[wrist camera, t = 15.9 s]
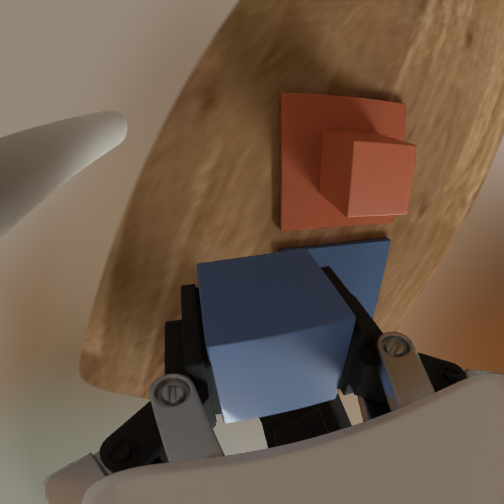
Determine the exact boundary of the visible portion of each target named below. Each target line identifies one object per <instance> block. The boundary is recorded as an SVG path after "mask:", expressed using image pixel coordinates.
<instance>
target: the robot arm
mask: <svg viewBox="0 0 504 504" xmlns="http://www.w3.org/2000/svg"><path fill="white" fill-rule="evenodd" d="M320 268H321V269H322V270H323V272H324V273H325V274H326V276H327V277H328V278H329V280H330V281H331V283H332V284H333V285H334V287H335V288H336V290H337V291H338V292H339V294H340V295H341V297H342V298H343V299H344V301H345V302H346V304H347V305H348V306H349V308H350V309H351V311H352V312H353V313H354V315H355V316H356V320H355V325H354V329H353V333H352V338H351V342H350V346H349V350H348V354H347V358H346V362H345V366H344V369H343V373H342V376H341V380H340V383H339V386H338V389H341V391H342V393H343V395H347V394H350V393H354V395H357V396H358V401H359V405H360V409H361V414H362V417H363V423H360V424H357V425H354V426H351V427H348V428H344V429H341V430H338V431H335V432H332V433H328V434H325V435H321V436H318V437H314V438H310V439H307V440H303V441H299V442H295V443H290V444H286V445H282V446H277V447H273V448H268V449H263V450H258V451H252V452H247V453H241V454H235V455H228V456H225V455H224V453H223V451H222V448H221V446H220V444H219V442H218V440H217V438H216V435H215V433H214V431H213V428H214V427H215V426H216V416H215V415H216V414H221V411H220V406H219V401H218V396H217V391H216V386H215V381H214V376H213V370H212V365H211V362H210V361H209V359H208V354H207V349H206V343H205V336H204V328H203V320H202V311H201V303H200V294H199V287H198V288H196V286H195V284H191V285H183V286H181V305H182V320H176V321H167V322H166V323H165V375H163V376H161V377H159V378H158V379H156V380H155V381H154V383H153V384H152V385H151V388H150V391H149V392H150V400H151V401H149V402H148V403H147V404H146V405H145V406H144V407H143V408H142V409H140V410H139V411H138V412H137V413H136V414H135V415H133V416H132V417H131V418H130V419H129V420H128V421H127V422H125V423H124V424H123V425H122V426H121V427H120V428H118V429H117V430H116V431H115V432H114V433H112V434H111V435H110V436H109V437H108V438H107V439H106V440H105V441H104V442H103V444H102V446H101V448H100V451H99V452H97V453H95V454H92V453H89V454H88V455H86V456H84V457H82V458H80V459H79V460H77V461H75V462H73V463H71V464H70V465H68V466H66V467H64V468H62V469H60V470H58V471H56V472H54V473H52V474H51V475H49V476H48V477H47V478H46V480H45V482H44V485H43V491H44V494H45V496H46V499H47V500H48V503H49V504H504V374H501V373H495V372H485V371H477V370H469V369H466V370H465V371H463V370H462V369H461V368H460V367H459V366H458V365H456V364H454V363H451V362H448V361H444V360H441V359H438V358H435V357H431V356H428V355H425V354H421V353H418V352H417V351H416V349H415V347H414V345H413V343H412V341H411V340H410V339H409V338H408V337H407V336H405V335H403V334H401V333H397V332H387V333H384V334H383V333H382V331H381V330H380V329H379V327H378V326H377V325H376V323H375V322H374V321H373V319H372V318H371V317H370V315H369V314H368V313H367V311H366V310H365V309H364V307H363V306H362V305H361V303H360V302H359V301H358V299H357V298H356V297H355V296H354V295H353V294H351V293H350V292H349V290H348V289H347V288H346V286H345V285H344V284H343V283H342V281H341V280H340V279H339V277H338V276H337V275H336V273H335V272H334V271H333V270H332V268H331V267H330V266H325V267H320Z"/></svg>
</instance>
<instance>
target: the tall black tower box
mask: <svg viewBox="0 0 504 504" xmlns="http://www.w3.org/2000/svg"><path fill="white" fill-rule="evenodd" d="M259 419H260V420H261V422H262V426H263V429H264V434H265V437H266V441H267V445H268V448H273V447H277V446H282V445H286V444H290V443H295V442H299V441H303V440H307V439H310V438H314V437H318V436H321V435H325V434H328V433H332V432H335V431H338V430H341V429H344V428H348V427H351V426H352V425H351V423H350V420H349V418H348V416H347V413H346V411H345V409H344V407H343V404H342V402H341V400H340V397H339V395H338V393H337V395H336V398H335V399H333V400H329V401H326V402H322V403H318V404H315V405H311V406H307V407H303V408H299V409H295V410H291V411H287V412H282V413H278V414H273V415H269V416H264V417H259Z"/></svg>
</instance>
